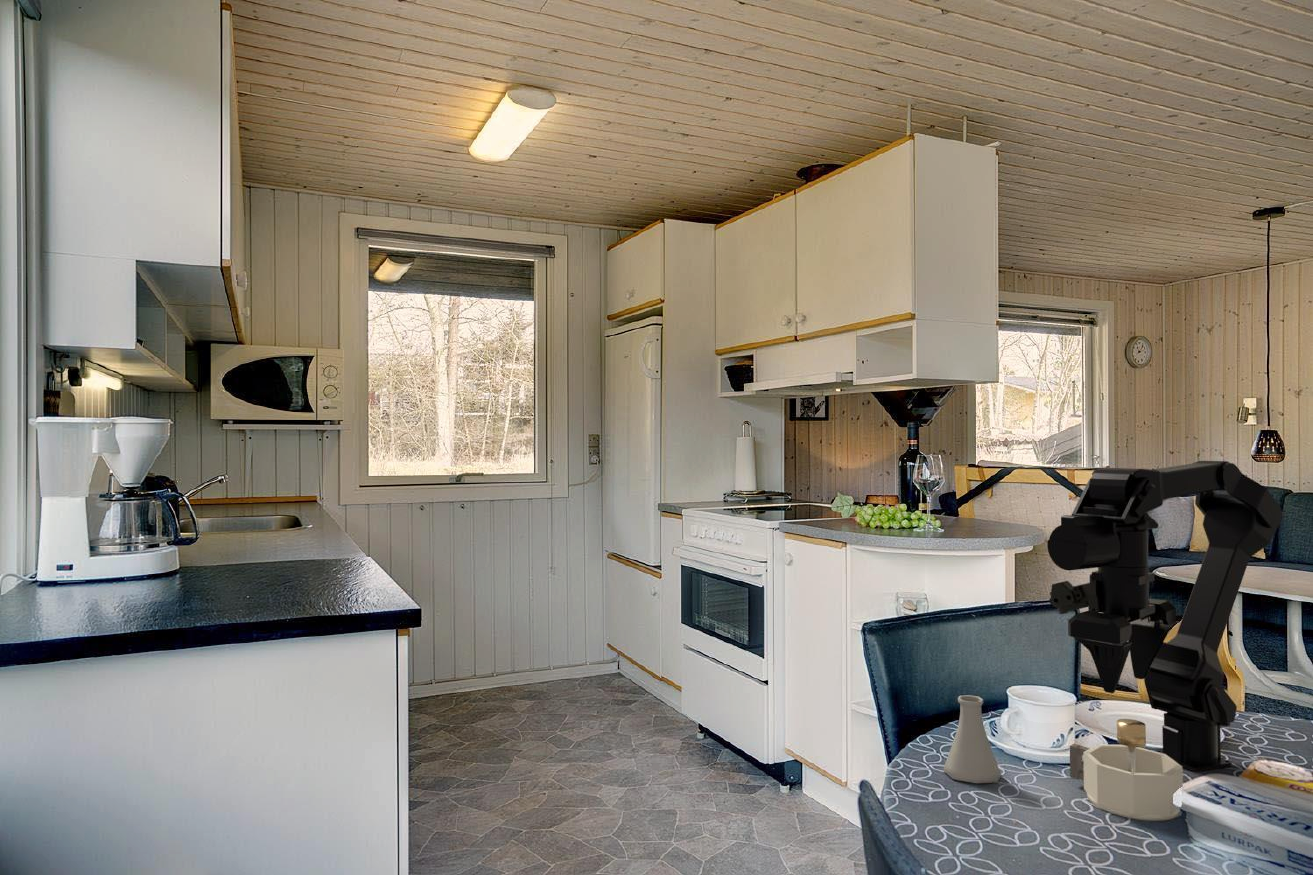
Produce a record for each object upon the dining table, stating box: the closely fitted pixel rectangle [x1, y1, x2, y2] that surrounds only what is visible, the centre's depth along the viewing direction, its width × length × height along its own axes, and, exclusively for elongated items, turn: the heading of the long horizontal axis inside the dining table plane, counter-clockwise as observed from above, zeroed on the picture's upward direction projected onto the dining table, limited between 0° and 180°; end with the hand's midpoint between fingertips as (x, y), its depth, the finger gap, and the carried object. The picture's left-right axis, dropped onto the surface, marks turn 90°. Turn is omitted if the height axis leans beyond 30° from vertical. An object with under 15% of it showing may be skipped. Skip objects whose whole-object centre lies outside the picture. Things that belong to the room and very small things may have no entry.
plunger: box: [1116, 718, 1147, 773], centre depth 101 cm, size 7×7×9 cm
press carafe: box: [1069, 743, 1184, 822], centre depth 101 cm, size 10×12×5 cm
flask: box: [942, 694, 1002, 784], centre depth 110 cm, size 7×7×10 cm
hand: (1124, 685), depth 108 cm, fingers open, 9 cm apart
